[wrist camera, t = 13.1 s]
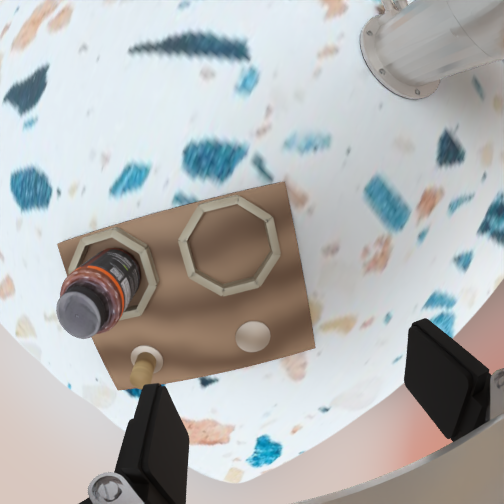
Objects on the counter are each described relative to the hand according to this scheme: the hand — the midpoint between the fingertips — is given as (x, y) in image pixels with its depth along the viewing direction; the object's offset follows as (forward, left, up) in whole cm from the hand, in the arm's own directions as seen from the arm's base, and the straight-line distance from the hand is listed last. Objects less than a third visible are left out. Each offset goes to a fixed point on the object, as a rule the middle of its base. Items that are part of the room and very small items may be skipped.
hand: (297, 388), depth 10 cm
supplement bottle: (-1, -14, -23) cm, 27 cm away
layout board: (+4, -7, -24) cm, 26 cm away
